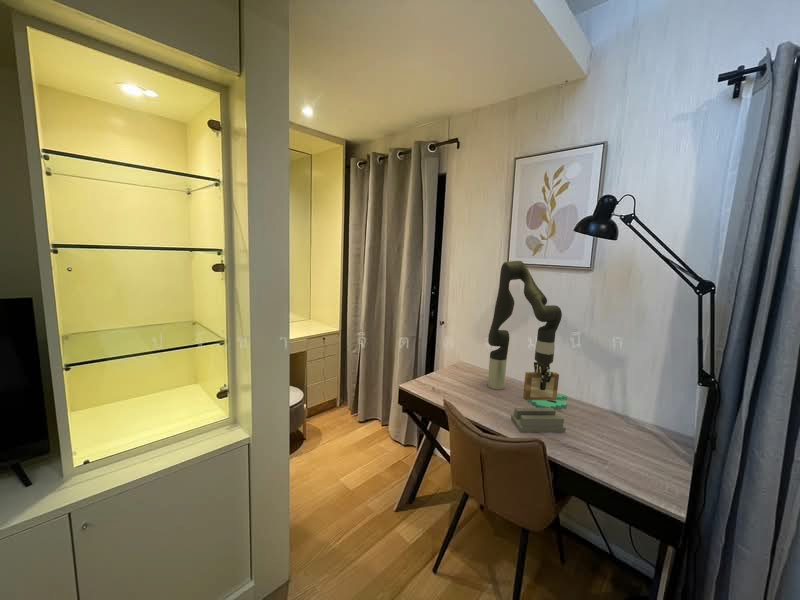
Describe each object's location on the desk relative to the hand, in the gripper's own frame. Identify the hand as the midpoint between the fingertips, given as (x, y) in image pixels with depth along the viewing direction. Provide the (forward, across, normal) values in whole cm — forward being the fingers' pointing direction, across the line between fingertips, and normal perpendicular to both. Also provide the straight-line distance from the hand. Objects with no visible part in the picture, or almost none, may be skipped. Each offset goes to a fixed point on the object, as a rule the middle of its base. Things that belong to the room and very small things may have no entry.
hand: (540, 388), depth 150 cm
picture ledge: (+18, 0, 0) cm, 18 cm away
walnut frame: (+5, 0, 0) cm, 5 cm away
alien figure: (+19, -24, +15) cm, 34 cm away
